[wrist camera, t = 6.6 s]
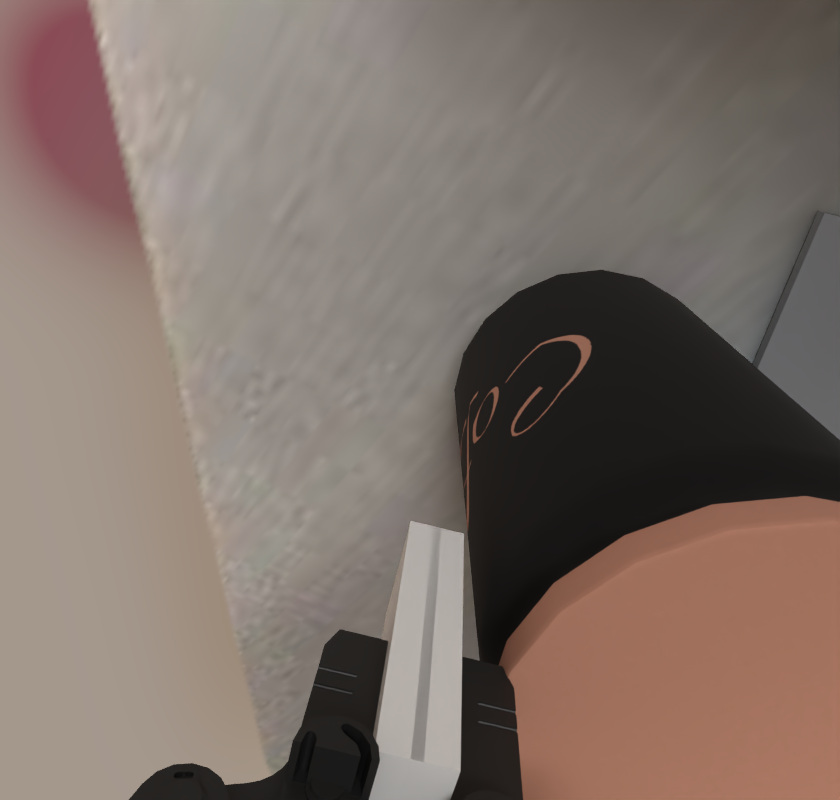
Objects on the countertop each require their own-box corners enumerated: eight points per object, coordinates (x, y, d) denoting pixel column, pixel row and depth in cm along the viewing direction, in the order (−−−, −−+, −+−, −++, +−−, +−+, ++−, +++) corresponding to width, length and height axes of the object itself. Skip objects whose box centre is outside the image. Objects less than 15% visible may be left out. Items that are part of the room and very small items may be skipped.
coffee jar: (512, 223, 27) (643, 437, 11) (748, 314, 29) (1177, 624, 12) (418, 446, 31) (409, 843, 15) (628, 516, 33) (828, 946, 17)
